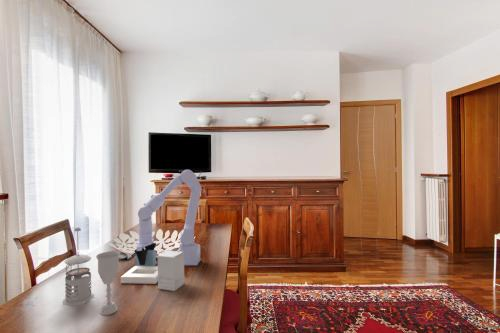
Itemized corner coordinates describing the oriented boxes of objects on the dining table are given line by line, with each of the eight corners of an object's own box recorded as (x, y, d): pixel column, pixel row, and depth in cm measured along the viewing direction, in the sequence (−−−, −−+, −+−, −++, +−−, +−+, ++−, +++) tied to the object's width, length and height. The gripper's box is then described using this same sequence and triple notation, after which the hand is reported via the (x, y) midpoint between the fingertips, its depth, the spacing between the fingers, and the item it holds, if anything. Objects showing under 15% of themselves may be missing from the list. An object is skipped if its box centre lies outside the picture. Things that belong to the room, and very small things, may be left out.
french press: (70, 308, 94) (69, 232, 93) (53, 299, 100) (52, 228, 100) (100, 296, 102) (99, 226, 102) (82, 289, 108) (81, 222, 108)
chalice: (102, 305, 95) (102, 251, 95) (123, 304, 96) (123, 250, 96) (92, 317, 88) (91, 258, 88) (115, 316, 89) (114, 258, 88)
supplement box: (185, 283, 112) (184, 251, 112) (174, 291, 105) (173, 257, 105) (168, 281, 115) (168, 249, 115) (157, 288, 108) (156, 255, 108)
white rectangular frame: (166, 272, 125) (166, 266, 125) (155, 283, 113) (155, 277, 113) (134, 271, 125) (134, 266, 125) (120, 283, 113) (120, 276, 113)
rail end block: (155, 265, 134) (155, 250, 134) (152, 267, 130) (152, 252, 130) (139, 264, 134) (139, 249, 134) (135, 267, 131) (135, 252, 131)
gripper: (143, 228, 140) (144, 256, 140) (129, 236, 125) (130, 267, 125) (158, 228, 139) (158, 256, 139) (145, 236, 125) (145, 267, 125)
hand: (145, 261), depth 132 cm, fingers open, 7 cm apart
